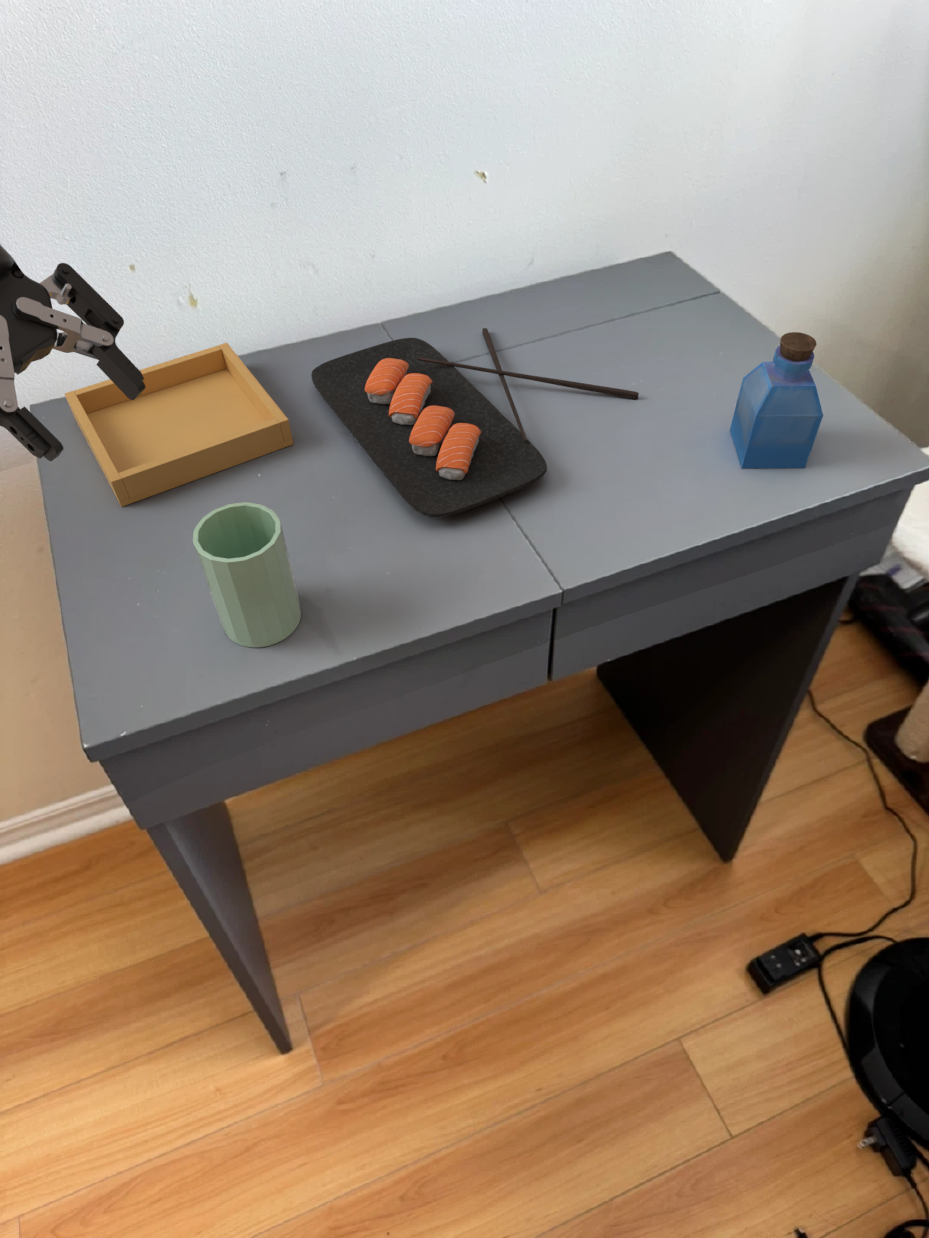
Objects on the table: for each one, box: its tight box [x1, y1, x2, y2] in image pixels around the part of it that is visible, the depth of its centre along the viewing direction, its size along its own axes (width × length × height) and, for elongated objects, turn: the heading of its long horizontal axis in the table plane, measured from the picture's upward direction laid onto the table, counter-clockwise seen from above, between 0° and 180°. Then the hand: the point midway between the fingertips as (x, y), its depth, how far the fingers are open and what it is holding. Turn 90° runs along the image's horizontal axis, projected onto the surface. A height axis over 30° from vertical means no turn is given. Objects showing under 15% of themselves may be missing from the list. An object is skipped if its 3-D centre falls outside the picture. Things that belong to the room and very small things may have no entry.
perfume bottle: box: [729, 331, 824, 469], centre depth 83 cm, size 6×6×12 cm
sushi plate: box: [310, 327, 640, 518], centre depth 92 cm, size 29×30×4 cm
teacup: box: [192, 501, 302, 648], centre depth 70 cm, size 7×7×10 cm
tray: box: [64, 342, 294, 508], centre depth 90 cm, size 18×17×3 cm
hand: (100, 423), depth 66 cm, fingers open, 8 cm apart
